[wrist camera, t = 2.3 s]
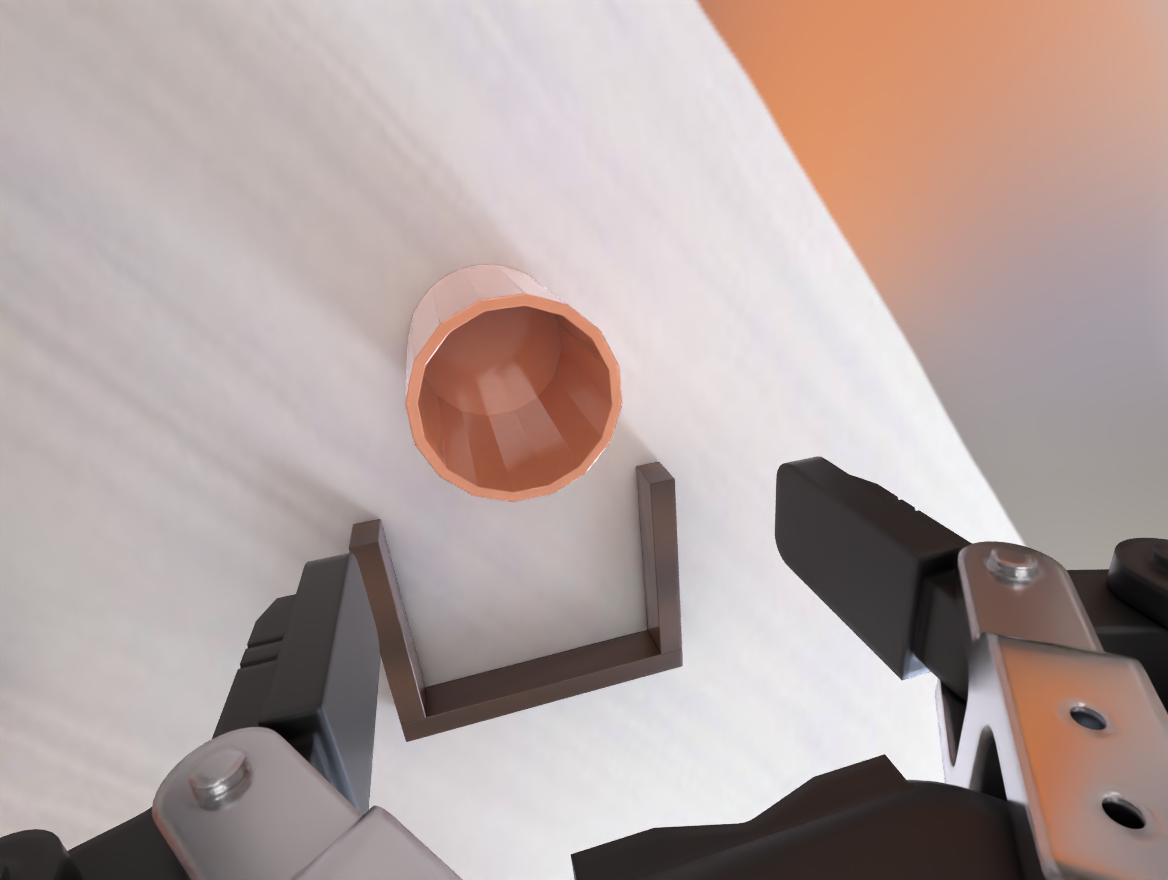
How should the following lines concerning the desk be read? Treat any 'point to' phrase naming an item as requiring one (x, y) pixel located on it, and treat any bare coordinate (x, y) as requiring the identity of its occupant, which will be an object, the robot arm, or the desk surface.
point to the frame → (541, 676)
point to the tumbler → (507, 385)
